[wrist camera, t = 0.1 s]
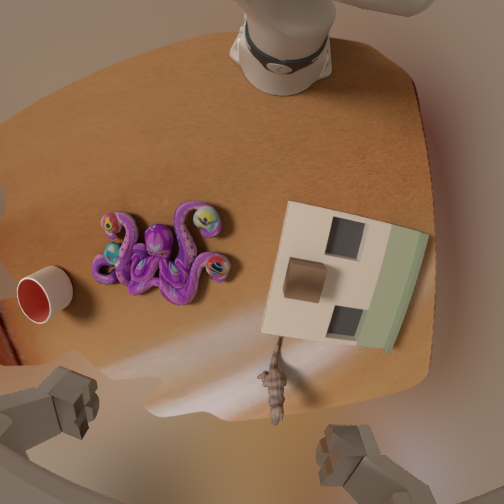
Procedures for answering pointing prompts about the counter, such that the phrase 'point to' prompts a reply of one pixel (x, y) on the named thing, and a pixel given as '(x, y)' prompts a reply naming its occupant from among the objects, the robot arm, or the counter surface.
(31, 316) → the cup
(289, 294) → the walnut block
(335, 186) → the counter surface
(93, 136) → the counter surface
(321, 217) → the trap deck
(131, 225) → the decorative sculpture
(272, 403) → the toy
